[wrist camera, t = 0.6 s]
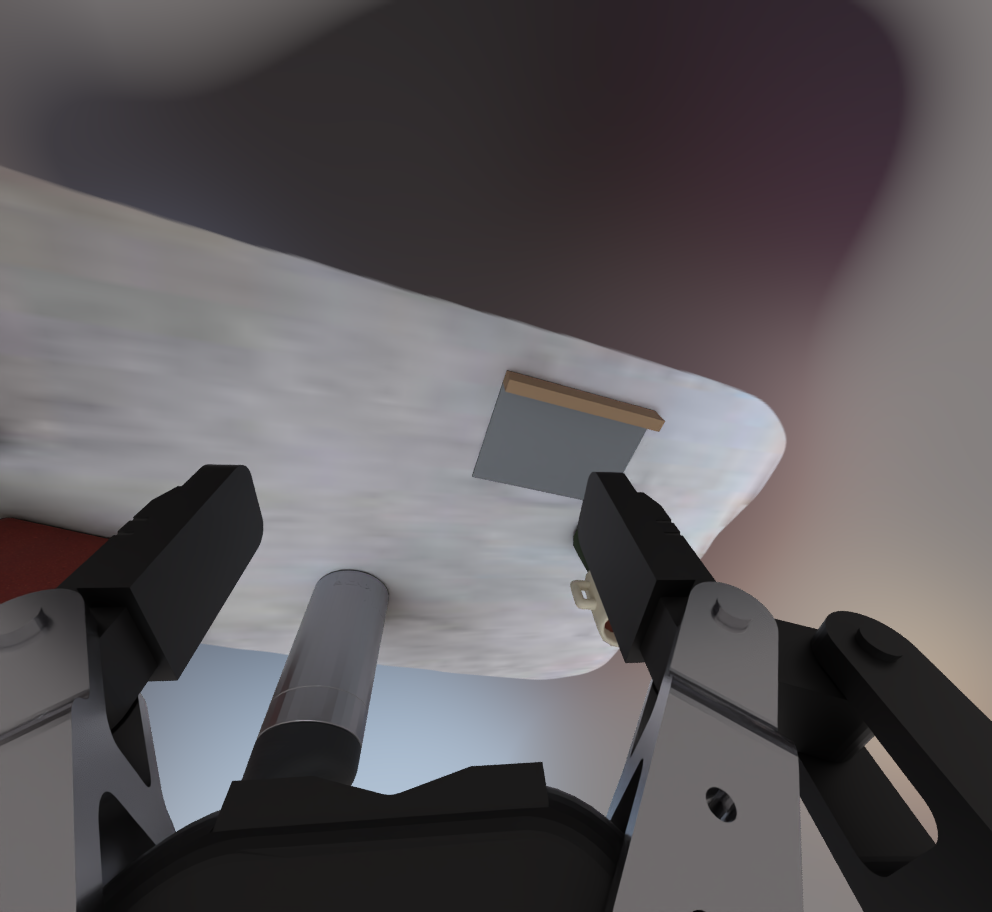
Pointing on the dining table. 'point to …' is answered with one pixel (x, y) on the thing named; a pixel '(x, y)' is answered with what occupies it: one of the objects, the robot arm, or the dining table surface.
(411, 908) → the robot arm
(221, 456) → the dining table surface
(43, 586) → the plant pot
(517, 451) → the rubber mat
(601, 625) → the character mug
